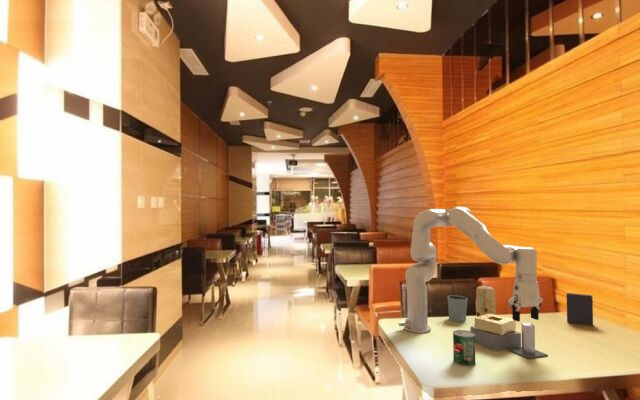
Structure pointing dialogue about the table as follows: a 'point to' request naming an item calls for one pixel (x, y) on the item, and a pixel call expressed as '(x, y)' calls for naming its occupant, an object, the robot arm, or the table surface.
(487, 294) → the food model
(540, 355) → the pad
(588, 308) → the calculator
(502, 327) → the wooden block with hole
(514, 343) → the grey square block
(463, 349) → the canned tomato
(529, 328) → the light grey tall block
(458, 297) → the blue-grey cup
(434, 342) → the table surface
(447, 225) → the robot arm
